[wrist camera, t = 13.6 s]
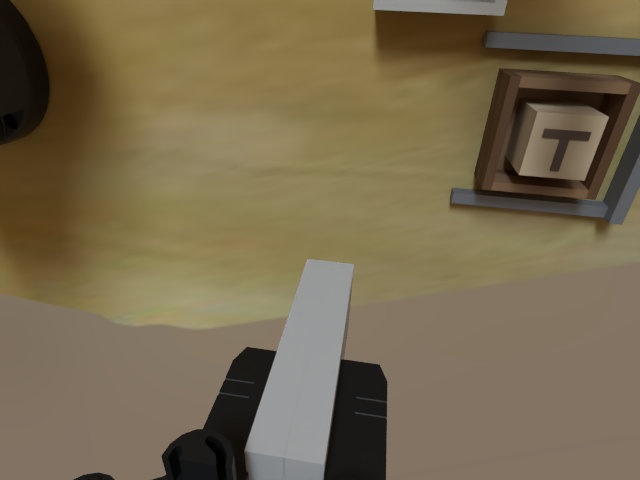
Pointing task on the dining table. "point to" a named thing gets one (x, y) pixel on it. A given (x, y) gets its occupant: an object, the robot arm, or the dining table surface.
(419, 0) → the grey tub
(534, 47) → the slate bay
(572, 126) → the letter cube
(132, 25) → the dining table surface
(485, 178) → the walnut box
